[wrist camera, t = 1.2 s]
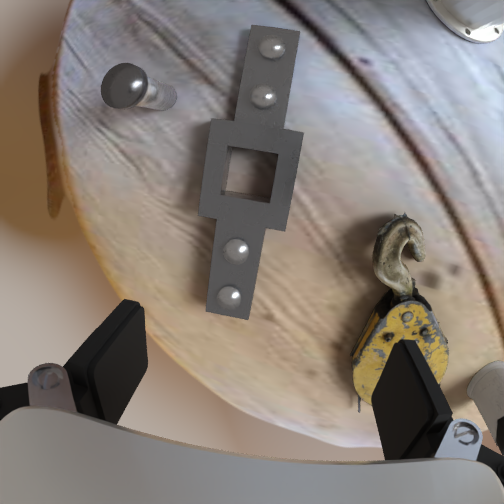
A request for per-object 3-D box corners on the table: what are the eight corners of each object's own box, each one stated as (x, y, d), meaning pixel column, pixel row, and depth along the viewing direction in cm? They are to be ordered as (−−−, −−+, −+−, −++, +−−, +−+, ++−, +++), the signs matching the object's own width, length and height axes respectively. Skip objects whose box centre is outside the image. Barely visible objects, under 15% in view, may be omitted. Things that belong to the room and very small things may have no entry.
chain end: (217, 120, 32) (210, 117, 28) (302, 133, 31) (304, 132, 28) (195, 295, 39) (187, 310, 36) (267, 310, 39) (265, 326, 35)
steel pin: (150, 80, 31) (105, 63, 21) (183, 81, 31) (146, 62, 21) (145, 113, 32) (97, 108, 23) (178, 116, 32) (138, 108, 22)
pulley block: (470, 216, 26) (442, 417, 35) (451, 203, 31) (436, 391, 41) (337, 231, 30) (351, 428, 40) (337, 215, 36) (352, 400, 45)
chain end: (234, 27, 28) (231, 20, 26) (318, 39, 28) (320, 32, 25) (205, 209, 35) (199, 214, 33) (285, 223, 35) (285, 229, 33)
